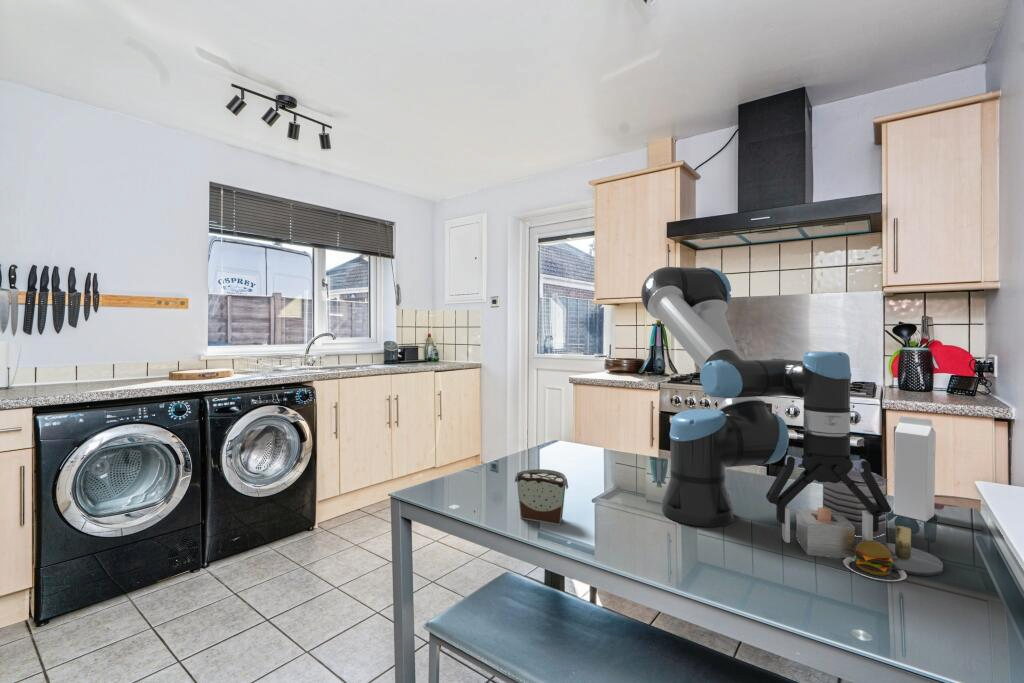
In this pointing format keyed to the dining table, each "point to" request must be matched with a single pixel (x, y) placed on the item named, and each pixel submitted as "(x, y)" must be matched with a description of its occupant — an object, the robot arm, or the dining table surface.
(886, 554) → the hamburger
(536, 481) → the food container
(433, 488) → the dining table surface
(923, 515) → the milk
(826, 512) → the sausage
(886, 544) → the hub
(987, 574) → the dining table surface
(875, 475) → the can
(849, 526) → the collar
